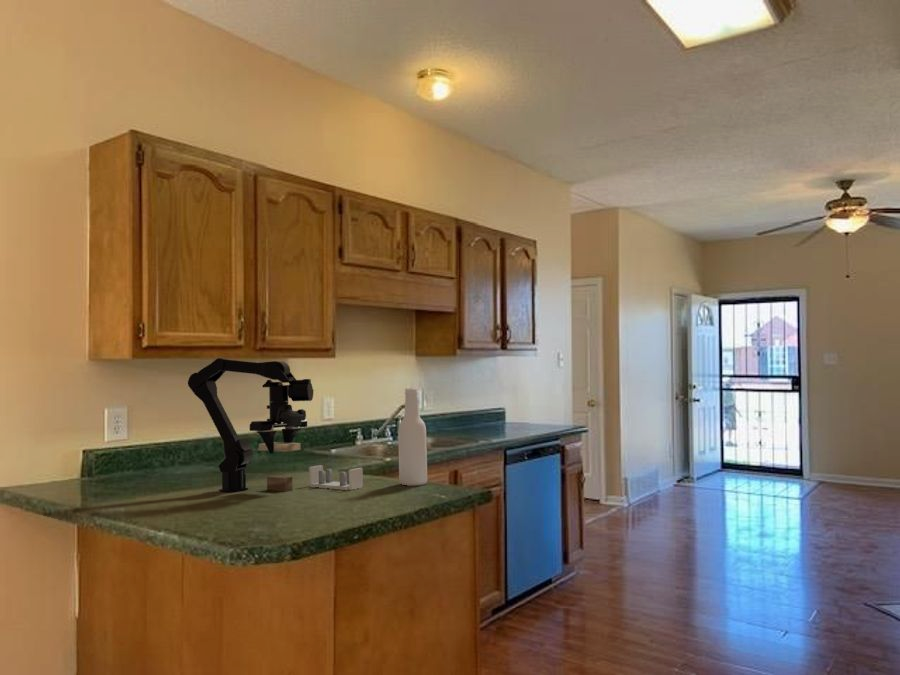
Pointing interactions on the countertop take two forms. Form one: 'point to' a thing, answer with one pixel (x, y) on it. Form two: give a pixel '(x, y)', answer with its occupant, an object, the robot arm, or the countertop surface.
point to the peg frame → (318, 481)
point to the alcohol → (412, 443)
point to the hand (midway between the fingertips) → (279, 452)
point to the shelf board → (281, 447)
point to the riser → (279, 483)
